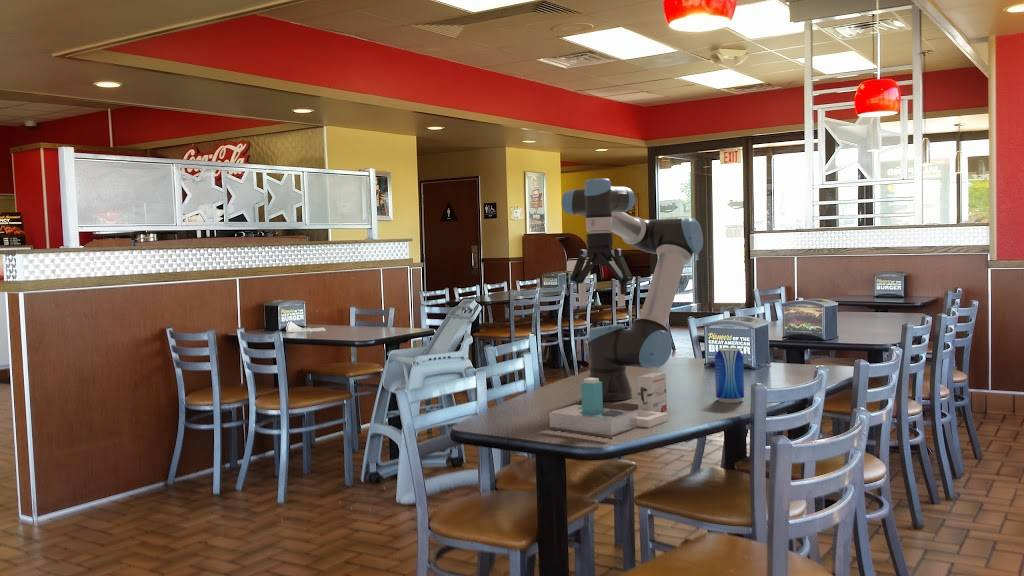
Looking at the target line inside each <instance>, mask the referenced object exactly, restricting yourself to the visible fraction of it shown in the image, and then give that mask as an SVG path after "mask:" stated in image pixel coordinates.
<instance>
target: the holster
mask: <svg viewBox="0 0 1024 576" xmlns="http://www.w3.org/2000/svg"><path fill="white" fill-rule="evenodd" d="M632 411H633V412H637V427H643V428H648V429H649V428H652V427H654V426H658V425H660V424H663V423H666V422H668V421H669V412H654V411H645V410H638V409H635V410H632Z"/></svg>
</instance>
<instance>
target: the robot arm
mask: <svg viewBox="0 0 1024 576" xmlns="http://www.w3.org/2000/svg"><path fill="white" fill-rule="evenodd" d="M635 203H636V196H635V193H634V191H633V190H632V189H631V188H629V187H627V186H623V185H622V186H621V185H619V186H613V185H612V183H611V180H610V179H609V178H605V177H604V178H600V177H599V178H591V179H590V178H589V179H587V180H585V182H584V188H581V189H580V188H579V189H578V188H574V189H570V190H567V191H565V192H564V193H563V195H562V197H561V207H562V211H564V213H565V214H567V215H574V216H576V215H579V216H581V217H584V218H585V229H586V232H588V233H587V234H586V246H587V249H578V255H577V259H576V262H575V266H574V268H573V270H572V274H571V276H570V281H572V282H574V283H575V284H576V294H577V295H578V306H587V305H588V303H587V282H585V280H586V279H587V277H588V275H589V274H590V272H591V271H592V269H593V268H594V267H595V265H596V266H598V265H599V266H600V265H601V266H602V265H605V266H606V267H608V269H609V270H610V271H611V273H612V274H613V275H614V277H615V278H616V279H617V281H618V283H616V291H617V292H616V293H617V297H616V298H617V307H618V308H619V307H625V306H626V295H627V294H628V283H629V282H631V281H633V280H634V278H633V275H632V273H631V271H630V269H629V266H628V265H627V262H626V260H625V257H624V254H623V253H624V252H623V249H622V248H614V249H613V245H614V244H613V243H614V242H613V236H614V235H613V234H615V235H617V236H619V237H621V239H622V241H623V242H624V243H625V244H626V245H629V246H631V247H633V248H635V249H637V250H640V251H642V252H645V253H649V254H653V255H654V254H655V255H657V256H658V260H657V262H656V265H655V268H654V272H653V275H652V276H651V277H652V278H651V281H650V284H649V287H648V290H647V291H648V292H647V293H646V297H645V300H644V303H643V307H642V309H641V312H640V316H639V317H637V318H635V319H634V320H633V321H632V325H631V327H630V328H629V329H627V328H626V327H625V325H624V323H619V324H617V323H616V324H610V325H603V326H602V325H601V326H597V327H593V328H592V327H591V328H590V329H589V330H588V339H587V344H588V362H589V363H588V364H589V365H588V366H589V375H588V378H599V382H602V395H603V402H615V401H623V400H629V399H631V398H632V397H633V390H632V387H631V384H630V381H629V378H628V375H627V367H633V368H644V369H651V368H653V369H654V368H656V369H657V368H660V367H662V366H664V365H665V364H666V363H667V362H668V360H669V358H670V357H671V354H672V351H673V346H672V344H673V339H672V336H671V334H670V330H669V328H668V327H667V323H668V320H669V317H670V313H671V310H672V307H673V303H674V301H675V297H676V293H677V290H678V287H679V284H680V281H681V277H682V274H683V270H684V267H685V265H687V264H689V263H690V262H691V260H692V257H693V255H695V254H698V253H701V251H702V250H703V246H704V236H703V230H702V227H701V225H700V223H699V221H698V220H696V219H695V218H693V217H680V218H661V219H660V218H659V219H643V218H641V217H639V216H631V215H629V214H628V213H626V212H628V211H630V210H631V209H632V208H633V207H634V205H635ZM587 257H588V259H587ZM612 257H613V258H612ZM614 258H615V260H614ZM586 259H587V260H586Z"/></svg>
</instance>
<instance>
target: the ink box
mask: <svg viewBox="0 0 1024 576" xmlns="http://www.w3.org/2000/svg"><path fill="white" fill-rule="evenodd" d="M636 379H637V381H636V384H637V410H645V411H654V412H662V413H664V412H666V411H667V410H668V409H667V406H668V405H667V404H668V403H667V381H666V380H667V377H666V373H665V372H650V373H646V374H643V375H639V376H637V378H636Z"/></svg>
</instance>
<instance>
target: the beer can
mask: <svg viewBox="0 0 1024 576" xmlns="http://www.w3.org/2000/svg"><path fill="white" fill-rule="evenodd" d="M740 350H741V348H739V347H718V348H717V352H716V354H715V356H714V367H715V368H714V370H715V371H714V375H715V376H714V379H715V398H716V399H717V400H718V402H719V403H724V404H726V403H727V404H735V403H737V404H738V403H741V402H742V401H743V400H744V398H745V383H744V382H745V380H744V379H745V375H744V374H745V372H744V355H743V353H742V352H741V351H740Z"/></svg>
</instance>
